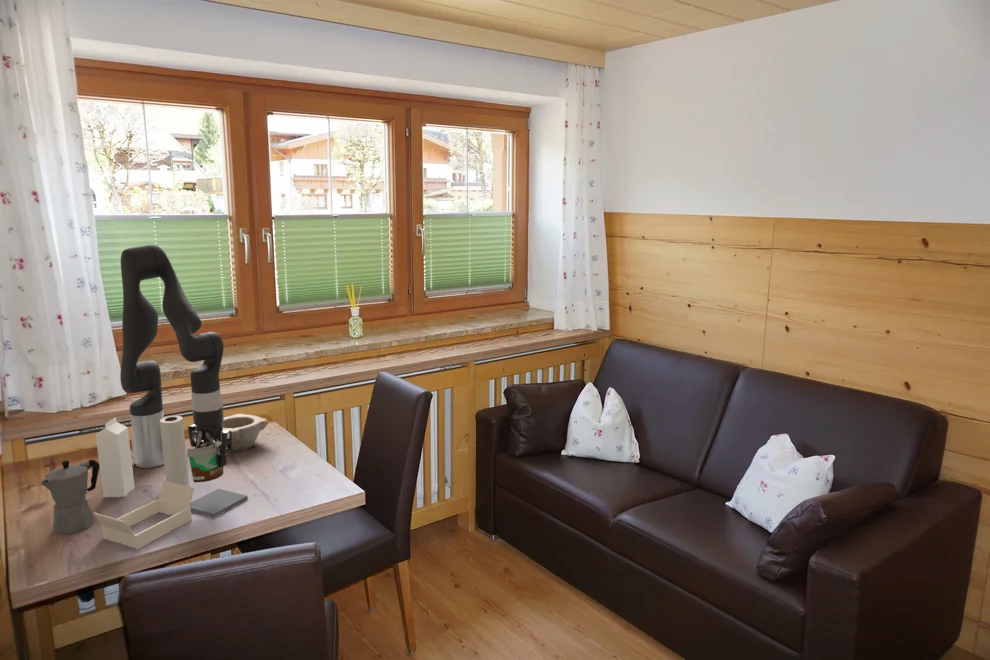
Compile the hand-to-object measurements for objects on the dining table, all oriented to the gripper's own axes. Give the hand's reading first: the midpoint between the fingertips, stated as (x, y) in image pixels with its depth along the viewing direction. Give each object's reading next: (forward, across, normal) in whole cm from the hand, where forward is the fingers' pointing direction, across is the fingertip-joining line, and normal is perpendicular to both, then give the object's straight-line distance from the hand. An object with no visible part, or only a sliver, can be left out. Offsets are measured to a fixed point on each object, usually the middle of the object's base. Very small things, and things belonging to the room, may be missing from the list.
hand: (212, 463), depth 183 cm
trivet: (+12, 0, 0) cm, 12 cm away
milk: (+12, -31, -6) cm, 34 cm away
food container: (+4, 0, 0) cm, 4 cm away
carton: (+12, -5, -17) cm, 22 cm away
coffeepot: (+12, -24, -24) cm, 36 cm away
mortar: (+12, -27, +34) cm, 45 cm away
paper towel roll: (+12, -18, +3) cm, 22 cm away
